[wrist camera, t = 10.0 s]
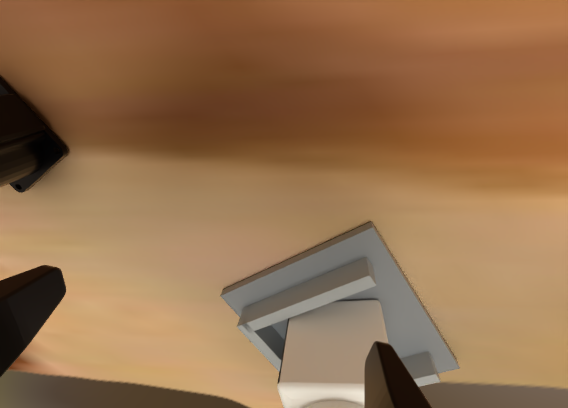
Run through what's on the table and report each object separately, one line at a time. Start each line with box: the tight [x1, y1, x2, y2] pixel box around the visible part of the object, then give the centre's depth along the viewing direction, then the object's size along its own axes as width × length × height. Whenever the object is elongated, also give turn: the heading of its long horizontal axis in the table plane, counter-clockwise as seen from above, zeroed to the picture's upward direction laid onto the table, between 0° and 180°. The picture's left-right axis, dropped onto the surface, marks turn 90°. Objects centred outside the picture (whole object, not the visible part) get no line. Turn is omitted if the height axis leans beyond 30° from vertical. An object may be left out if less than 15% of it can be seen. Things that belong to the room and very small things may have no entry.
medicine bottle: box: [277, 300, 388, 408], centre depth 20 cm, size 7×7×12 cm
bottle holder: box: [221, 222, 460, 387], centre depth 25 cm, size 14×16×3 cm
